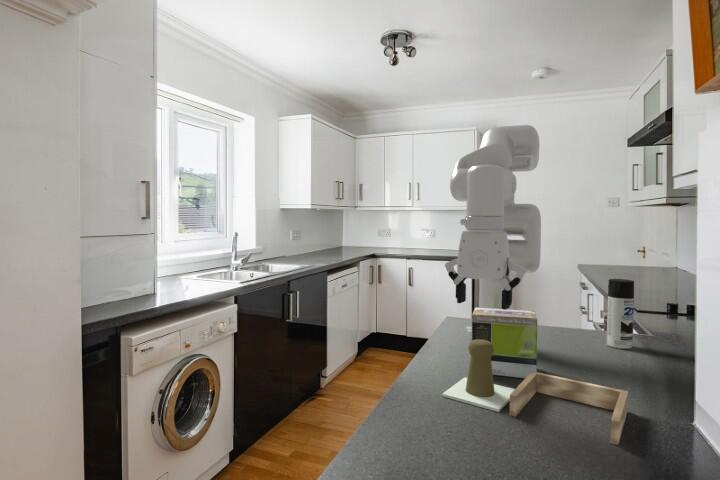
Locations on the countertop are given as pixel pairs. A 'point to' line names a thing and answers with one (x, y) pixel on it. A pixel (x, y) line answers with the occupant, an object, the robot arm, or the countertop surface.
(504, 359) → the tea box
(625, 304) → the spray can
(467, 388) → the cork
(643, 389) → the countertop surface
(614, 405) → the wooden u-shaped frame
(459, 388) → the mat
